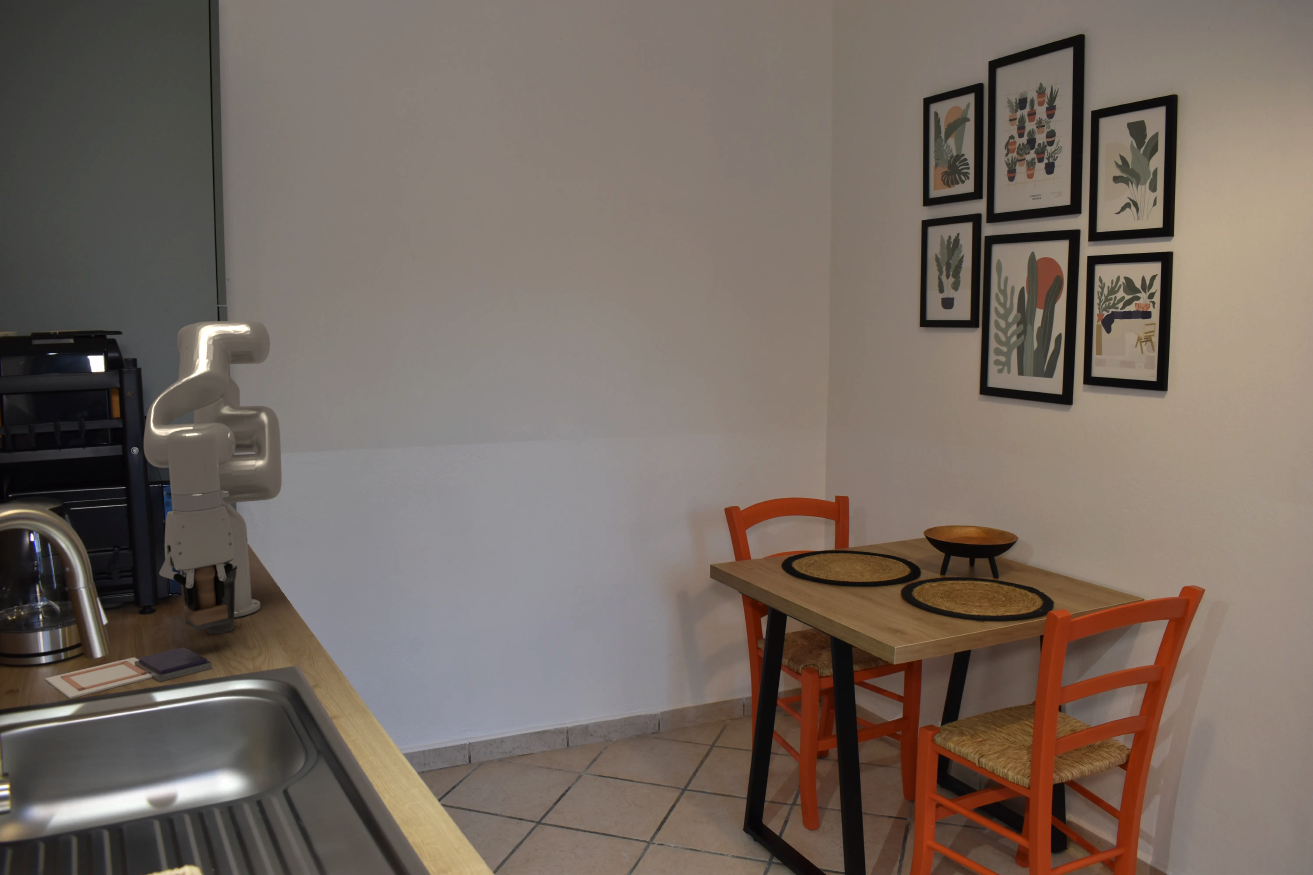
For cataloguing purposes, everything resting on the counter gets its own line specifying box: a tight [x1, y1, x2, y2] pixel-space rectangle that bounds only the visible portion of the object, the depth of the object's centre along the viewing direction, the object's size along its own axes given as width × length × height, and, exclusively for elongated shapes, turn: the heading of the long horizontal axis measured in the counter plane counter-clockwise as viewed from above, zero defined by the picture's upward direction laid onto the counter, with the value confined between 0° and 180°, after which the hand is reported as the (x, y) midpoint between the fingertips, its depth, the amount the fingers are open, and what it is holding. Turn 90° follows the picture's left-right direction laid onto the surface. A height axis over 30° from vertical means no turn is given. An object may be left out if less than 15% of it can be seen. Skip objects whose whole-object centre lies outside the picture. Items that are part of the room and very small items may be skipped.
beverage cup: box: [206, 565, 237, 635], centre depth 171 cm, size 7×7×20 cm
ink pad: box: [135, 646, 213, 683], centre depth 151 cm, size 11×8×2 cm
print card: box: [44, 657, 154, 699], centre depth 147 cm, size 13×13×1 cm
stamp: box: [183, 566, 228, 631], centre depth 159 cm, size 5×5×11 cm
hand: (205, 604), depth 159 cm, fingers closed on stamp, 3 cm apart
